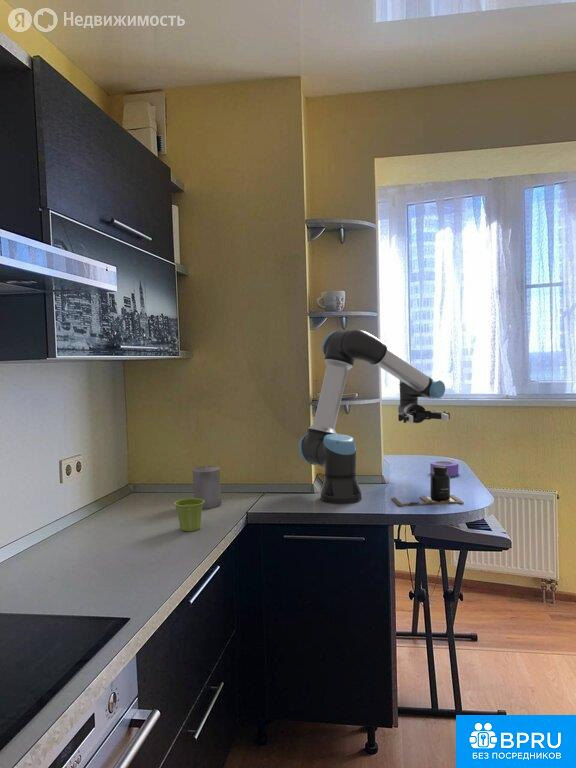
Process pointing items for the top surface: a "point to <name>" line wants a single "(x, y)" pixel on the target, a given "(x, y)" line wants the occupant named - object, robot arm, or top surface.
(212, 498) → the pillar candle
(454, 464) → the tape roll
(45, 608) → the top surface
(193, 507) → the plant pot
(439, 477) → the supplement bottle
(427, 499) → the flat wooden frame
